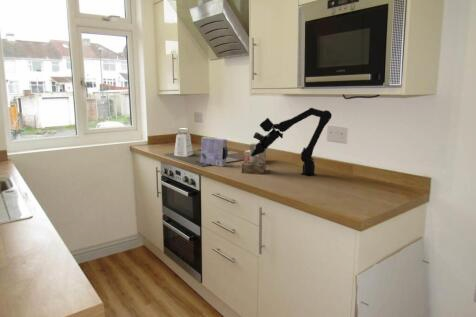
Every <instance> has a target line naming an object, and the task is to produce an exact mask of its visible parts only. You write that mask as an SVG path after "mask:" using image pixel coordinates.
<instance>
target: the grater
mask: <svg viewBox="0 0 476 317" xmlns="http://www.w3.org/2000/svg"><path fill="white" fill-rule="evenodd" d="M181 130H186V133H181ZM192 155H194V153H193V146H192V139H191V134H190V129H189V128H184V127H183V128H181V127H180V128H178V129H177V134H176V137H175V145H174V153H173V156H175V157H184V158H185V157H189V156H192Z"/></svg>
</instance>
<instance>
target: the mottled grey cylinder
mask: <svg viewBox="0 0 476 317" xmlns="http://www.w3.org/2000/svg"><path fill="white" fill-rule="evenodd" d="M256 144H257V143H250V144H249V150H250V164H259V154H257V155H255V156H251V154H252V153H253V152H254V150H255V149H256V146H255V145H256Z"/></svg>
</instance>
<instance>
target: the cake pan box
mask: <svg viewBox="0 0 476 317" xmlns="http://www.w3.org/2000/svg"><path fill="white" fill-rule="evenodd" d="M200 145H201V146H200V148H201V149H200V164H204V165H205V164H206V165H209V164H211V165H210V166H216V167H221V168H222V167H226V166H227V157H228V154H229V153H228V139H224V138H217V137H208V136H202V137H201V143H200Z"/></svg>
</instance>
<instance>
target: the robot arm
mask: <svg viewBox="0 0 476 317" xmlns="http://www.w3.org/2000/svg"><path fill="white" fill-rule="evenodd" d="M310 116H315V117H318V118H319V120H318V125H317V126H316V128H315V130H314V132H313V134H312V136H311V138H310V141H309V143H308V144H307V146H306V147H303V149H302V151H301V152H300V160H301V161H302V162H303V164H302V172H301V173H300V174H301V175H304V176H308V177H310V176H316V175H317V173H315V172H316V171H315V170H316V169H315V168H316V165H315V159H314V158H313V157H312V156H313V152H314V149H315V147H316V145H317V142H318V141H319V139H320V136H321V134H322V132H323V130H324V128H325V127H326V125H327V124H328V123H330V120H331V119H332V117H333V116H332V112H331V111H329V110H327V109H324V110H321V109H317V108H314V107H309V108H308V109H306V110H304V111H303V112H301V113H299V114H297V115H295V116H293V117H292V118H289V119H286V120H283V121H280V122H279V123H273V122H272V121H271V120H270V118H269V117H266V119H264V120H263V121H262V122H261V123H260V124H258V125H259V127H260V128H261V129H262V130H263V131H264V133H266V132H267V134H265V135H263V134H261V133H259V132H255V133H254V135H253V139H256V140H258V142H257V143H255V144H256V145H255V146H256V149H255V150H254V152H253V153H252V154H251V156H255V155H257V154H260V153H263V152H264V151H265V149H266V150H268V148H269V147H270V146H271V145H272V144H273V143H274V142H275V141H276V140H277V139H279V138H281V139H283V138H284V132H287V131H288V130H289V129H290V128H291V127H293V125H296V124H298V123H299V122H301V121H302V120H305V119H307V118H308V117H310Z"/></svg>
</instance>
